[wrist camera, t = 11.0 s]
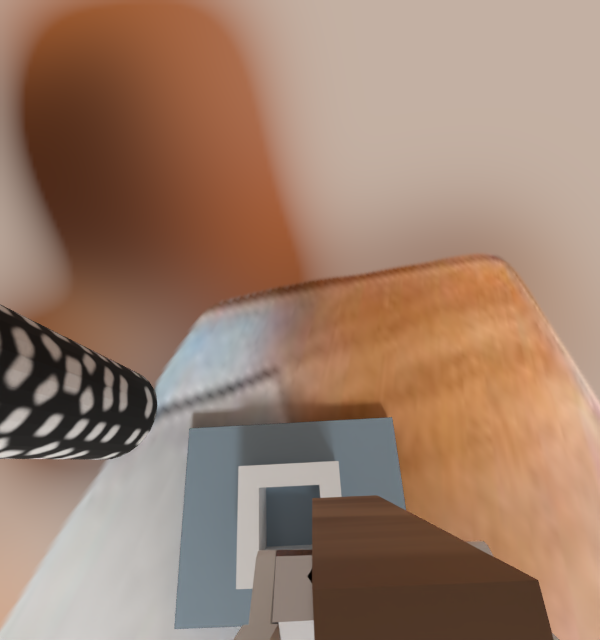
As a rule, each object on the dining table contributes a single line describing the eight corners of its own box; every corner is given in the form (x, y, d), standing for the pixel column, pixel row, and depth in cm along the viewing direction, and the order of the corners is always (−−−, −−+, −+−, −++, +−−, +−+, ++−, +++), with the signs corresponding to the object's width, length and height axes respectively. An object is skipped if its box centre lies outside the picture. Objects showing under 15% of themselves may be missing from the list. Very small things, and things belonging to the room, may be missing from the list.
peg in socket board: (416, 609, 26) (441, 646, 21) (181, 620, 26) (149, 658, 21) (388, 419, 31) (403, 411, 26) (195, 429, 31) (172, 423, 26)
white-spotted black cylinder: (111, 479, 30) (-212, 508, 12) (52, 424, 32) (-302, 374, 14) (174, 401, 32) (-9, 322, 14) (116, 354, 35) (-111, 233, 16)
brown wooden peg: (386, 574, 14) (635, 952, 3) (316, 577, 14) (330, 962, 3) (377, 495, 16) (538, 580, 4) (312, 498, 16) (311, 590, 4)
